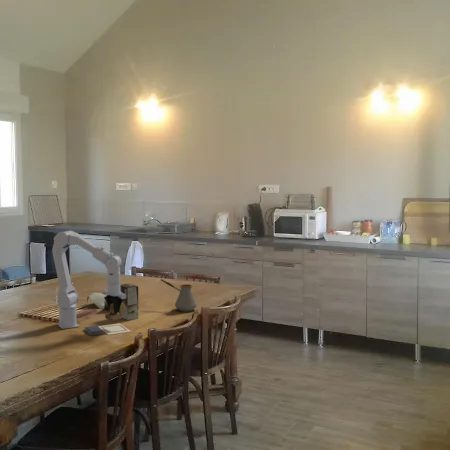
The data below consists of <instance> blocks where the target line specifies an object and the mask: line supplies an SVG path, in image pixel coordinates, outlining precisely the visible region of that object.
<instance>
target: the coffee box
mask: <svg viewBox="0 0 450 450" xmlns="http://www.w3.org/2000/svg"><path fill="white" fill-rule="evenodd" d="M120 292H122V293H124V294H126V298H125V299H124V300H123V301H122V303H121V306H120V310H119V313H118V314H121V319H124V320H127V321H130V320H137V319H139V308H138V307H139V286H138V285H135V284H131V283H122V284H120Z"/></svg>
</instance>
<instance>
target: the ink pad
mask: <svg viewBox="0 0 450 450" xmlns="http://www.w3.org/2000/svg"><path fill="white" fill-rule="evenodd" d="M98 326H99V325H92V326H86V327H84V328H83V329H84V331H85V332H86V333H87V334H88V335H89V336H90V337H92V335H93V336H99V335H105V332H104V331H103V330H102V329H101V328H99V327H98Z"/></svg>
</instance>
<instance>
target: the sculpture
mask: <svg viewBox="0 0 450 450" xmlns="http://www.w3.org/2000/svg"><path fill="white" fill-rule="evenodd" d="M105 296H107V295H106V294H105V295H104V294H103V292H102V293H101V292H92V293H90V295H88V296H87V298H86V303H88V302H89V299H90V300H91V301H92V302H93V303H94V305H95V306H96V307H97V308H98V309H100V310H104V309H105V307H106V308H108V305H107V302H106V300H105V299H104V297H105ZM139 308H140V306H138V309H139Z"/></svg>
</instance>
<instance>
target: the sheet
mask: <svg viewBox="0 0 450 450" xmlns="http://www.w3.org/2000/svg"><path fill="white" fill-rule="evenodd" d="M97 326H98V327H99V328H101V329H102V330H103V331H104V334H106V335H108V336H111V335H112V336H113V335H117V334H126V333H132V330H129V328H127V327H126V326H124V325H122V324H121V323H113V324H112V323H111V324H105V325H97Z"/></svg>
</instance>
